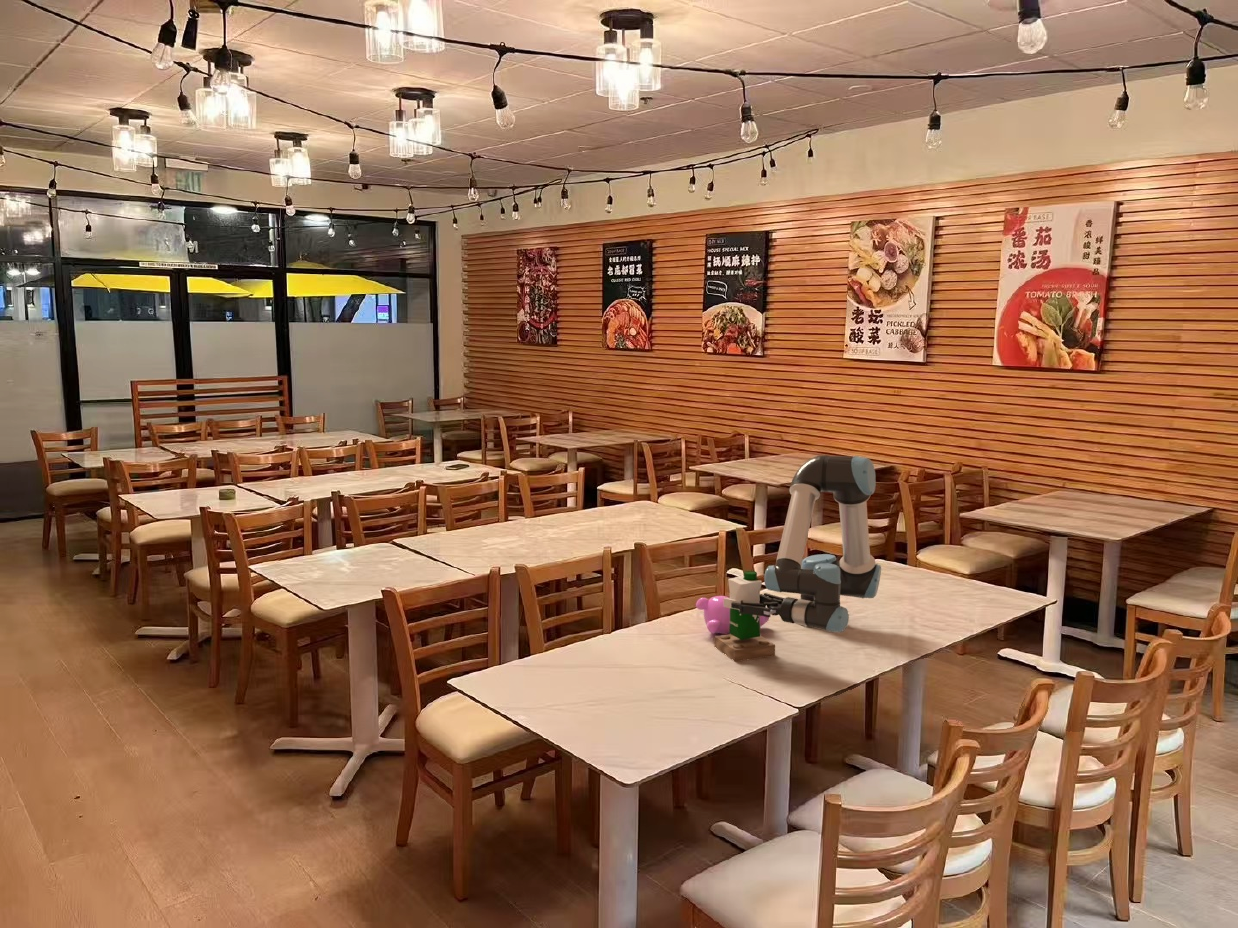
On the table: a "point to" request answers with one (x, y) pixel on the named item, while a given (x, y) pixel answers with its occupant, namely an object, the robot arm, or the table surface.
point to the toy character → (718, 614)
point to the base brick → (744, 647)
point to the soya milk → (749, 593)
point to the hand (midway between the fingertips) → (732, 598)
